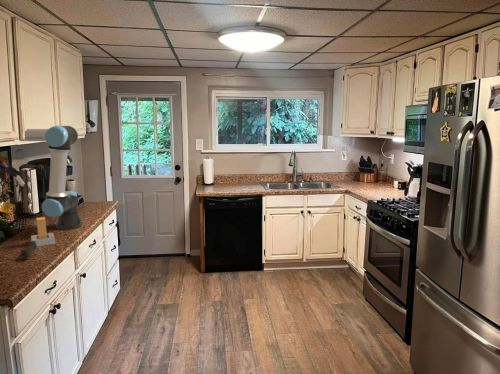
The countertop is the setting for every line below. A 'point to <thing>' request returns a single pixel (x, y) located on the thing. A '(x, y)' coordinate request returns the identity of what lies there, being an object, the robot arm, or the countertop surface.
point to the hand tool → (29, 250)
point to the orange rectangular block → (41, 227)
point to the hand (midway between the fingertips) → (12, 186)
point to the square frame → (43, 240)
